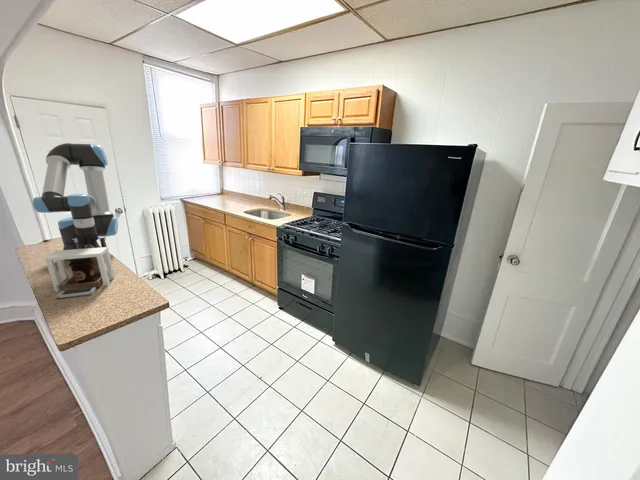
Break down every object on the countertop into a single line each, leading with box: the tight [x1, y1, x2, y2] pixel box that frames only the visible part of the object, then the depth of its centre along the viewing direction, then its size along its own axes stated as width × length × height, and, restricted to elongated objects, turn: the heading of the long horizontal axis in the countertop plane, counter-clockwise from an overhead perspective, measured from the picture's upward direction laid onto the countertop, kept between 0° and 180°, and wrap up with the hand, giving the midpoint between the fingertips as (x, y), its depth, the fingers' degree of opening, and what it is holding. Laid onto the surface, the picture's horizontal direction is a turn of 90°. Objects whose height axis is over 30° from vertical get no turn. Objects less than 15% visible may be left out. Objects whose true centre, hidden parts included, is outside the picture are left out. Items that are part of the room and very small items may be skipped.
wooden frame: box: [60, 257, 108, 292], centre depth 126 cm, size 20×14×10 cm, turn 22°
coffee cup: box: [68, 257, 96, 284], centre depth 122 cm, size 9×8×13 cm
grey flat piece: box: [55, 287, 97, 300], centre depth 115 cm, size 5×12×1 cm, turn 112°
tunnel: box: [44, 246, 115, 292], centre depth 122 cm, size 9×20×16 cm, turn 111°
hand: (95, 269), depth 135 cm, fingers open, 5 cm apart
